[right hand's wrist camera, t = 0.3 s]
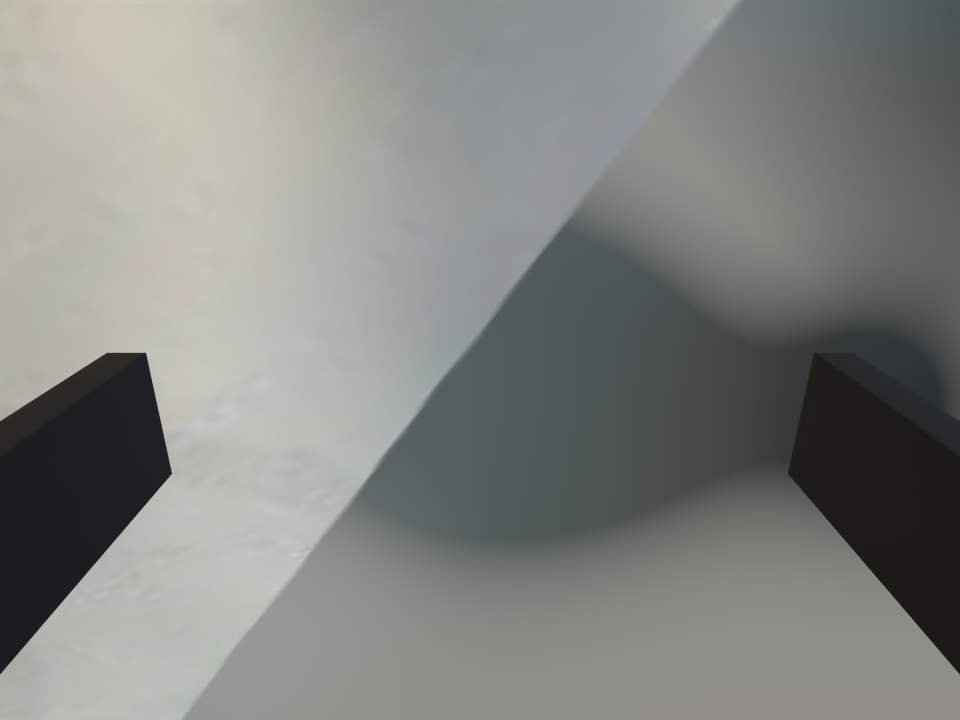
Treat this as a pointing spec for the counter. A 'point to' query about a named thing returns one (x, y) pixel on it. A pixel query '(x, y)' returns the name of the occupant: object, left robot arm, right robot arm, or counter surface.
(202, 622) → the counter surface
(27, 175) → the counter surface
